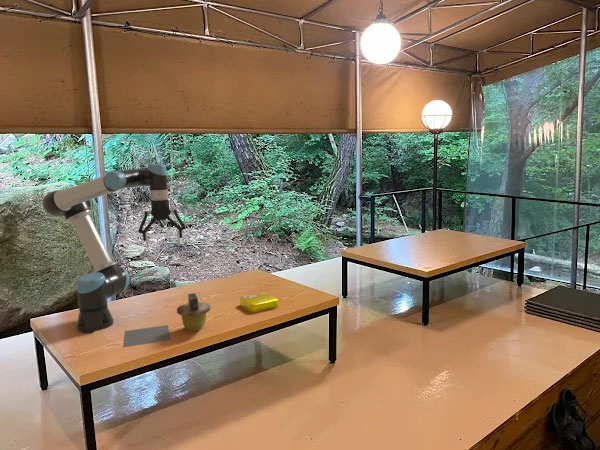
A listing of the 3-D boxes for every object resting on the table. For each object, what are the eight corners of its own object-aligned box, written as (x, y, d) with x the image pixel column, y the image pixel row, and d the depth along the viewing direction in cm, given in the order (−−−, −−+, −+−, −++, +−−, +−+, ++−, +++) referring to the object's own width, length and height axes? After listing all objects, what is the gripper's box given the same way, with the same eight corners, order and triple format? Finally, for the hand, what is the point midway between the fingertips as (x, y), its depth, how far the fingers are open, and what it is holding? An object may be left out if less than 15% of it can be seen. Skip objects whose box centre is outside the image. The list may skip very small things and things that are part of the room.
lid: (178, 317, 195) (177, 303, 194) (175, 307, 208) (174, 293, 207) (212, 312, 200) (211, 298, 199) (207, 303, 213) (206, 289, 212)
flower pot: (208, 326, 209) (206, 306, 208) (202, 333, 201) (200, 313, 199) (188, 326, 210) (187, 306, 209) (182, 333, 202) (180, 313, 200)
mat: (123, 348, 188) (123, 347, 188) (125, 332, 205) (125, 331, 205) (170, 341, 194) (170, 340, 194) (168, 326, 211) (168, 325, 211)
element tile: (252, 314, 224) (251, 304, 223) (238, 305, 237) (238, 296, 236) (279, 307, 232) (279, 298, 231) (265, 299, 244) (264, 290, 244)
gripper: (129, 202, 201) (134, 250, 205) (189, 198, 209) (192, 245, 212) (130, 200, 208) (134, 247, 212) (187, 196, 216) (191, 242, 219)
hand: (163, 246), depth 212 cm, fingers open, 13 cm apart
